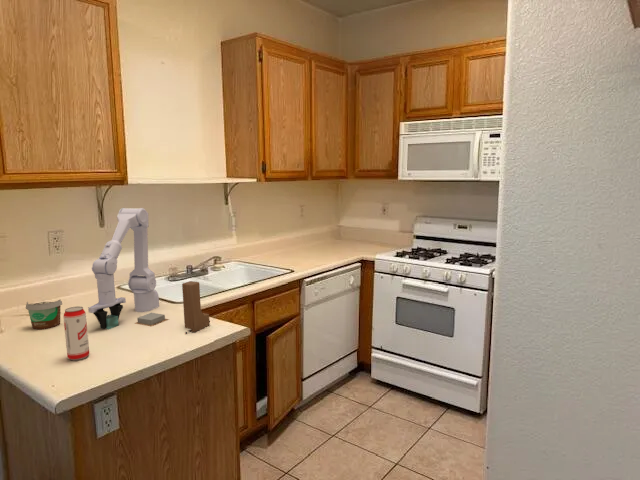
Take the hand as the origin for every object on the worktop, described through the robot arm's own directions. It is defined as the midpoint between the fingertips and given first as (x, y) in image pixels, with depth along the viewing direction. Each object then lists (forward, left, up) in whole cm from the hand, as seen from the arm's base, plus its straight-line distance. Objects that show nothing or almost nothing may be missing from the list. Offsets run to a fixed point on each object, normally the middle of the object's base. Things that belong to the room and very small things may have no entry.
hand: (109, 326), depth 169 cm
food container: (+9, -25, -2) cm, 27 cm away
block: (0, 0, -1) cm, 1 cm away
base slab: (-11, +10, -2) cm, 15 cm away
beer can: (+22, +13, -2) cm, 26 cm away
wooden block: (-15, +29, -2) cm, 33 cm away
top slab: (-11, +10, 0) cm, 15 cm away
